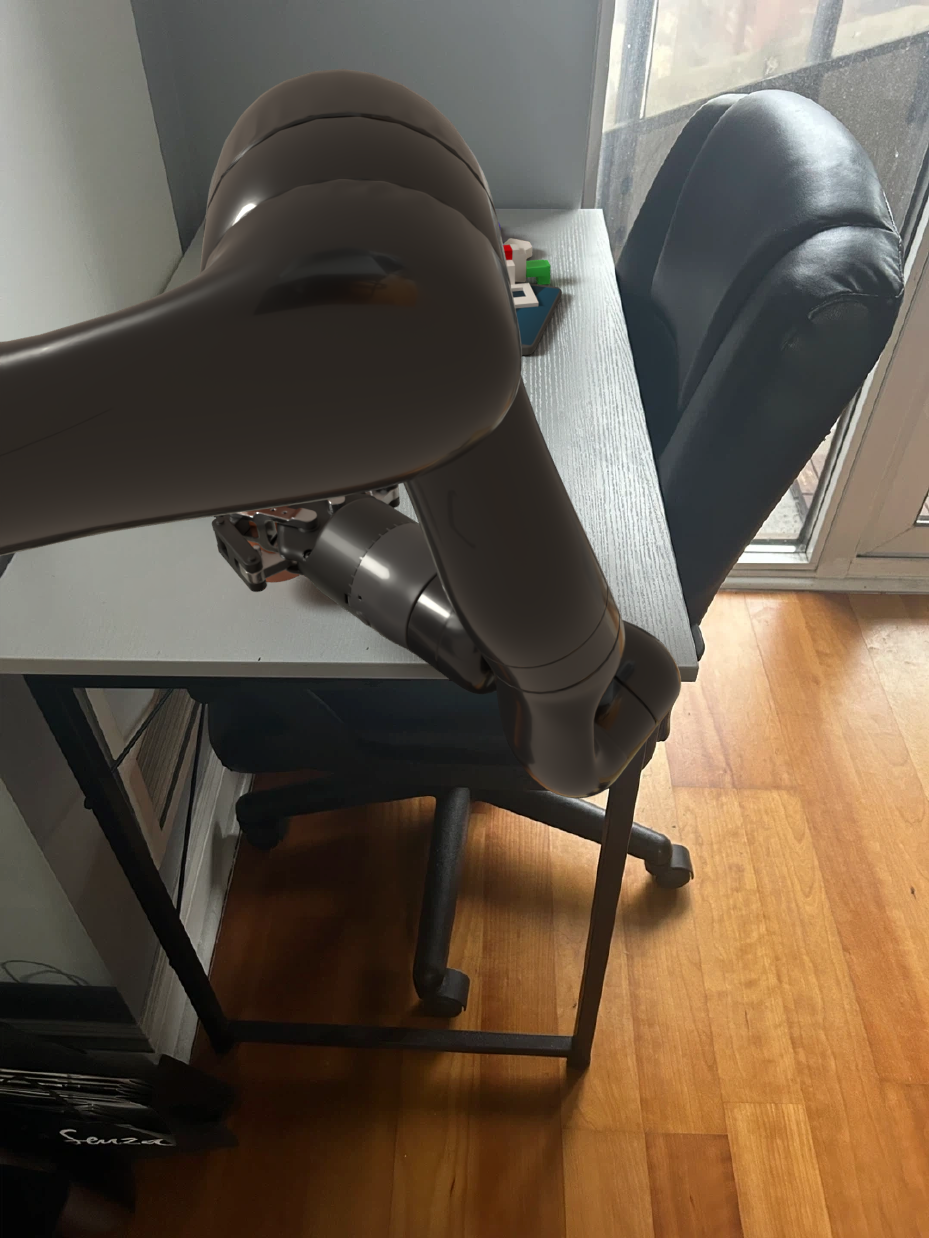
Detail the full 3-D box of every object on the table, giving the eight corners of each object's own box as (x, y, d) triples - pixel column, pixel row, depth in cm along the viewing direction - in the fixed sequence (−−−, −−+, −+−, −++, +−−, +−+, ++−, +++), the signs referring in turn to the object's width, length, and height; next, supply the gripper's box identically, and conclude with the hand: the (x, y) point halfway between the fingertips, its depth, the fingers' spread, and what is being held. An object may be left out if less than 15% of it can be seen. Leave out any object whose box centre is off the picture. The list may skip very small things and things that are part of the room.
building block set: (366, 238, 124) (363, 203, 121) (519, 225, 126) (520, 190, 123) (385, 326, 106) (382, 288, 103) (563, 309, 108) (565, 271, 105)
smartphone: (465, 347, 103) (465, 339, 102) (502, 286, 113) (502, 279, 112) (532, 356, 101) (533, 348, 100) (563, 294, 111) (564, 286, 111)
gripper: (470, 482, 63) (309, 392, 72) (304, 588, 56) (146, 474, 64) (471, 566, 69) (321, 472, 77) (320, 673, 61) (172, 557, 70)
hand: (242, 473), depth 71 cm, fingers closed on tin, 5 cm apart
